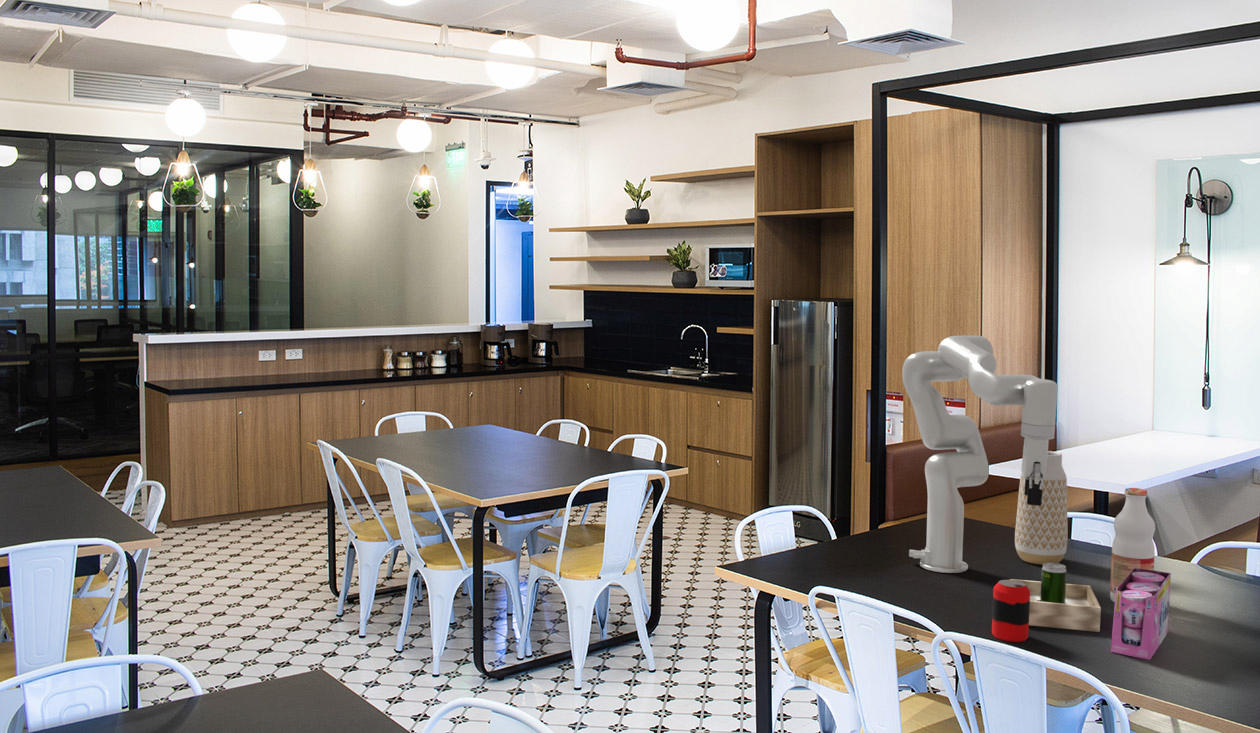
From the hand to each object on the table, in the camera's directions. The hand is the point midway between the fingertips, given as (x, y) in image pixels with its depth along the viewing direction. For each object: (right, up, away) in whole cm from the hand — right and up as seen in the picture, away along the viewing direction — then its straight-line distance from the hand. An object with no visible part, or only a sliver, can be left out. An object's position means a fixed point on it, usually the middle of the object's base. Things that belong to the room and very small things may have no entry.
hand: (1032, 500), depth 253 cm
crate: (+2, -26, -8) cm, 27 cm away
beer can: (+1, -26, -8) cm, 28 cm away
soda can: (-14, -27, -23) cm, 38 cm away
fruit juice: (+25, -26, +3) cm, 36 cm away
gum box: (+14, -28, -25) cm, 40 cm away
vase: (+18, -23, +41) cm, 50 cm away
